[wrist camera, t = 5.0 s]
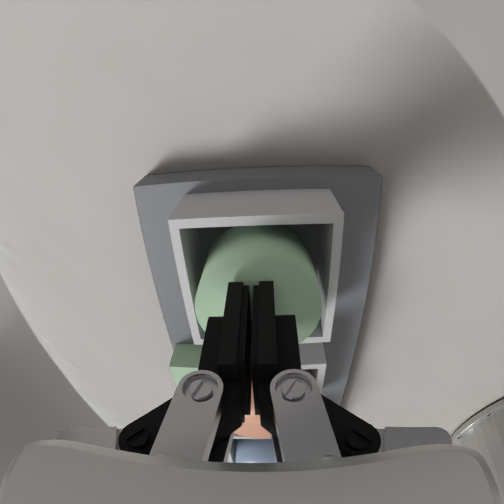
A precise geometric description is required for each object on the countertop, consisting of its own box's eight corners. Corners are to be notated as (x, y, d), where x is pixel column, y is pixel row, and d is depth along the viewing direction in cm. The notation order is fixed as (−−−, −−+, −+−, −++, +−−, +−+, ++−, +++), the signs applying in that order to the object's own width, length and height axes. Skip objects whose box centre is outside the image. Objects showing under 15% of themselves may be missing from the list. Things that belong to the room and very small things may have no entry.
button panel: (146, 175, 16) (107, 210, 12) (369, 166, 16) (407, 199, 11) (208, 425, 29) (202, 467, 24) (327, 423, 28) (332, 465, 24)
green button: (315, 219, 14) (326, 254, 11) (310, 309, 16) (317, 352, 13) (199, 223, 14) (185, 259, 11) (213, 312, 16) (204, 354, 14)
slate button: (298, 424, 22) (300, 457, 19) (295, 449, 24) (296, 477, 22) (234, 425, 22) (231, 458, 20) (239, 450, 25) (238, 478, 22)
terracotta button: (306, 355, 18) (311, 396, 15) (301, 401, 20) (304, 437, 18) (220, 356, 18) (215, 397, 15) (229, 402, 20) (226, 438, 18)
